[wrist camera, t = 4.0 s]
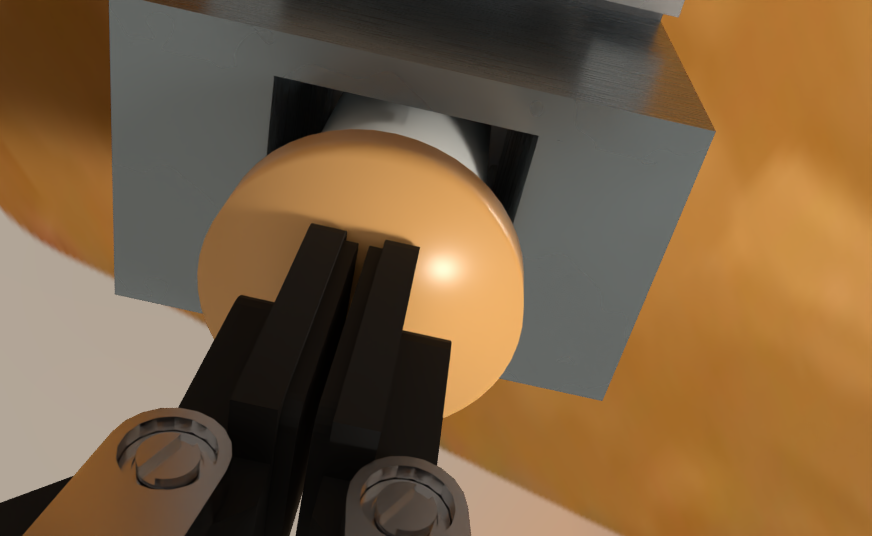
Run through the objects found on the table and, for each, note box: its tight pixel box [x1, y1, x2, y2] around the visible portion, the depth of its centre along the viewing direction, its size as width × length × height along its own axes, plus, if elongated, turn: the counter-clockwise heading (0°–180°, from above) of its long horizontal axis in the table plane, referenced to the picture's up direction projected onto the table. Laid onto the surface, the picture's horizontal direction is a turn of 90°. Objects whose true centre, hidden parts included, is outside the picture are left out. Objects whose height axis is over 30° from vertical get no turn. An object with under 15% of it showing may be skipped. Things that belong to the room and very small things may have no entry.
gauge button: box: [197, 91, 524, 418], centre depth 16 cm, size 5×5×8 cm
